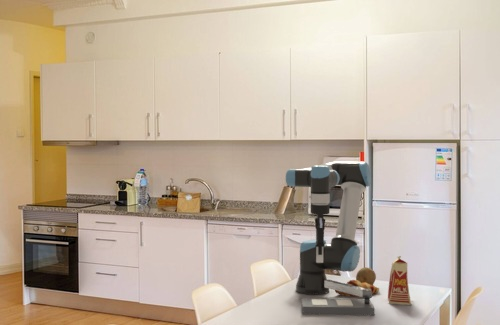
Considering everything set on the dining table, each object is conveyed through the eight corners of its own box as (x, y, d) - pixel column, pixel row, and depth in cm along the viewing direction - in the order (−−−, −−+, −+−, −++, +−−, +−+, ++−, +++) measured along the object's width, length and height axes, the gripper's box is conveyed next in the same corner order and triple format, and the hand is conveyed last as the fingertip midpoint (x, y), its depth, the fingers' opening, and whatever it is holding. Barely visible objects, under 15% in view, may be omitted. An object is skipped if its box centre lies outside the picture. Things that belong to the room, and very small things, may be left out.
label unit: (301, 305, 233) (301, 293, 233) (369, 306, 232) (369, 294, 232) (302, 314, 221) (302, 301, 221) (374, 315, 220) (374, 302, 220)
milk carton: (411, 305, 235) (411, 257, 234) (388, 303, 236) (388, 256, 236) (409, 299, 244) (409, 253, 243) (387, 298, 245) (388, 252, 245)
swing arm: (329, 286, 244) (329, 279, 244) (373, 297, 225) (373, 290, 225) (323, 287, 241) (323, 280, 241) (367, 299, 223) (367, 291, 223)
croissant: (375, 299, 257) (372, 282, 260) (385, 293, 248) (381, 276, 252) (332, 301, 252) (329, 283, 255) (341, 295, 243) (338, 277, 246)
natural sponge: (364, 292, 255) (364, 270, 255) (351, 287, 263) (352, 266, 263) (379, 289, 260) (379, 268, 260) (366, 285, 268) (367, 264, 267)
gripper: (309, 202, 232) (309, 259, 233) (311, 205, 219) (311, 265, 220) (328, 202, 232) (327, 259, 233) (330, 205, 219) (330, 265, 220)
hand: (319, 262), depth 226 cm, fingers closed
